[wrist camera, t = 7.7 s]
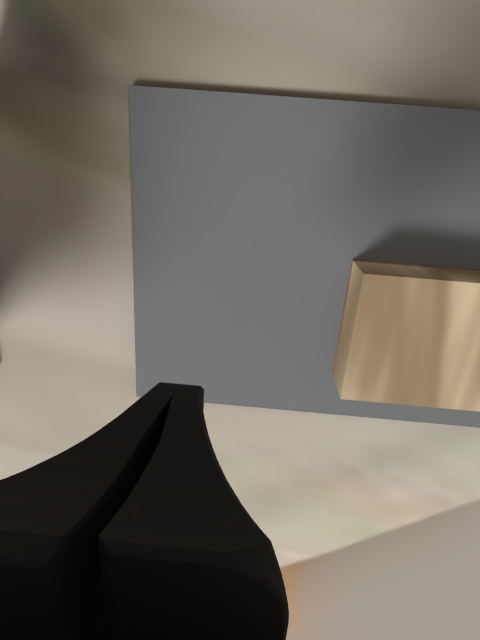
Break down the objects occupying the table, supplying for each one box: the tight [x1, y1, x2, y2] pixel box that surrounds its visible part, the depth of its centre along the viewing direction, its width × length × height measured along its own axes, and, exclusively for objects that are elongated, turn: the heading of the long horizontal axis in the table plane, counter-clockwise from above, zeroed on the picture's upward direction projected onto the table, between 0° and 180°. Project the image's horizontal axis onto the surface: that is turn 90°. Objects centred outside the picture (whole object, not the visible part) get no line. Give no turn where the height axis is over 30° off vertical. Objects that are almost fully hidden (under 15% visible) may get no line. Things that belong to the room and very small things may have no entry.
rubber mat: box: [128, 85, 480, 427], centre depth 20 cm, size 20×15×1 cm
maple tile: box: [332, 260, 480, 412], centre depth 19 cm, size 2×6×8 cm
